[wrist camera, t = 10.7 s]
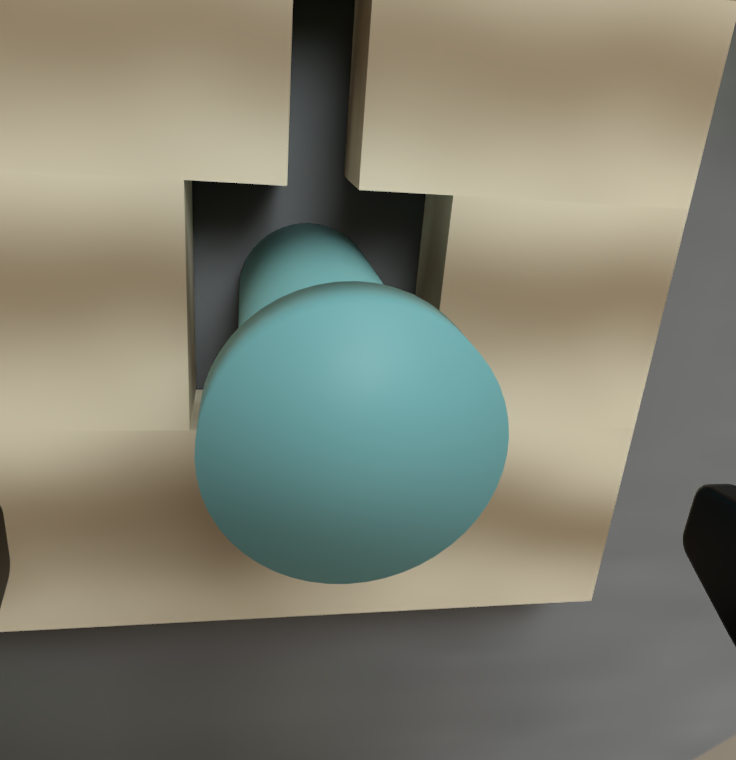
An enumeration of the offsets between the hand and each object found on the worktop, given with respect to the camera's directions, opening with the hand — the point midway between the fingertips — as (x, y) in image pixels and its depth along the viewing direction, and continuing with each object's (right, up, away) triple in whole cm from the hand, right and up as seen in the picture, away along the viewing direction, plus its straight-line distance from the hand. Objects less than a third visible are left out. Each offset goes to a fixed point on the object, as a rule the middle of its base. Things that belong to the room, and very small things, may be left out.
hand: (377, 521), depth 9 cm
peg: (-2, +4, +10) cm, 11 cm away
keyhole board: (-2, +4, +10) cm, 11 cm away
